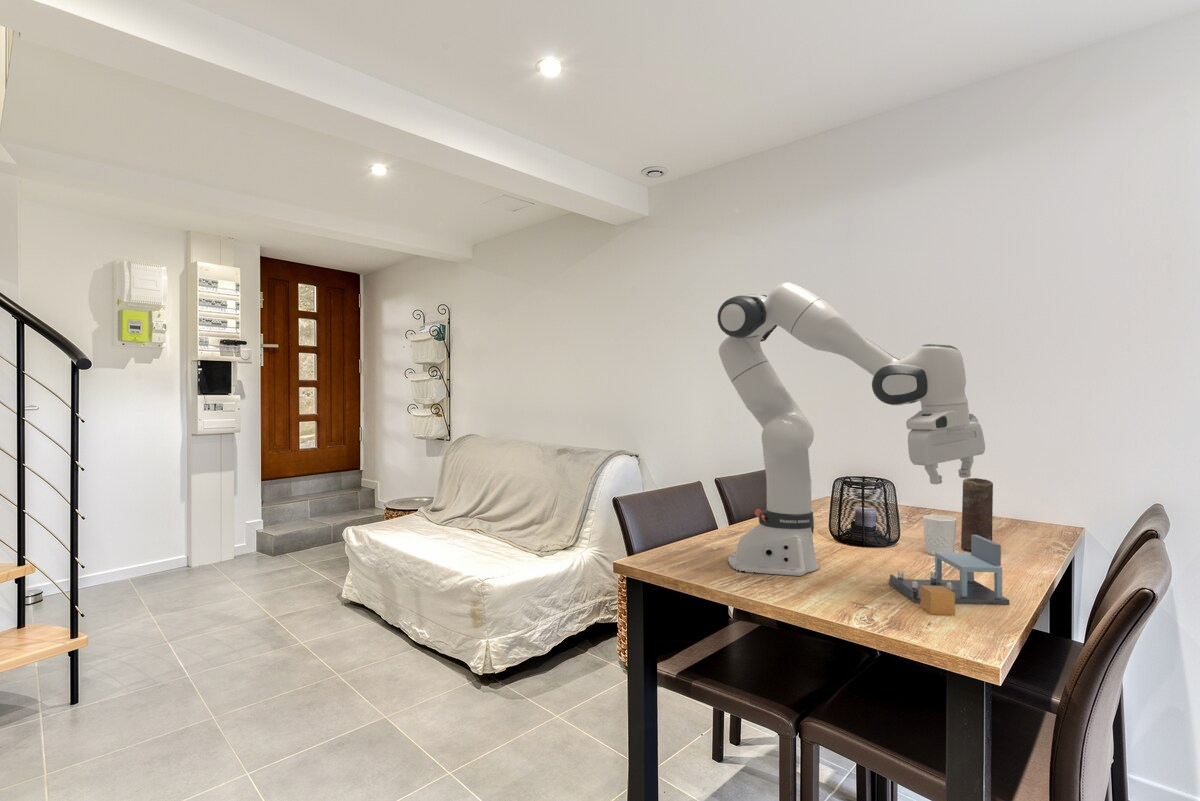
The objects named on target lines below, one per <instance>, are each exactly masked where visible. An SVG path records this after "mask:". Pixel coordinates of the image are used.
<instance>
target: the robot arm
mask: <svg viewBox="0 0 1200 801" xmlns="http://www.w3.org/2000/svg"><path fill="white" fill-rule="evenodd" d="M717 323H718V326H719V329H721V331H722V332H723V333H724V334H725V335H727V336H728V337H725V339H724V340H723V341H722V342H721V344H720V345H719V348H718V355H719V357H720V361H721V363H722V366H723V368H724V371H725V372H726V374H727V377H728V378H729V381H730V383H731V384H732V385H733V387H734V389H735V391H736V392H737V394H738V396H739V398H740V399H741V401H742V402H743V404H744V406H745V408H746V409H747V410H748V411H749V412H750V413H751V414H752V415H753V417H754V418H755V419H756V421H757V422H758V423H759V425H760V427H762V428H763V429H762V431H761V444H762V453H763V454H762V455H763V461H764V463H763V464H764V469H765V470H764V471H765V477H766V508H765V509H764V510H761V509H760V508H757V509H755V510H754V515H755V516H756V517H757V518H758V524H757V525H756V526H754V527H752V528H751V529H750V530H748V531H747V532H746V533H744V534H743V535H742V536H741V537H740V538H739V540H738V542H737V547H736V553H731V554H730V555H728V559H727V562H729V563H728V564H730V565H731V566H732V567H733V568H732V567H731V566H730V565H729V566H730V567H731V568H732V569H734V568H735V569H736V570H735V569H734V570H735V571H738V570H739V572H741V571H745V572H744V573H754V572H755V573H757V574H768V575H769V574H771V575H783V576H796V577H797V576H804V575H805V574H807V573H811V572H815V571H817V570H818V569H819V568H820V566H819V563H818V560H817V556H816V551H815V546H814V537H813V536H814V529H815V517H814V516H815V515H814V512H813V511H812V508H813V507H812V476H811V470H810V469H811V467H810V460H809V458H810V455H809V449H810V447H811V445H812V444H813V442H814V437H815V433H814V432H815V430H814V429H813V425H812V424H811V423H810V421H809V419H808V418H807V416H806V415H805V413H804V412H803V410H802V409H801V408H800V406H799V405H798V403H797V401H795V398H794V397H792V395H791V393H790V392H789V391H788V390H787V389H786V387H785V385H784V384H783V382H782V381H781V379H780V377H779V376H778V374H777V373H776V371H775V369H774V368H773V365H772V364H771V362H770V361H769V360H768V358H767V356H766V355H765V353H764V352H763V349H762V347H761V342H765V341H767V339H768V338H769V336H770V335H771V334H772V333H773V331H775V329H776V328H777V327H779V328H782V329H783V330H785V331H786V332H787V333H788V334H790V335H791V336H792V337H793V338H795V339H796V340H798V341H800V342H801V343H802V344H804V345H806V346H808V347H810V348H812V349H815V350H817V351H822V352H826V353H832V354H836V355H839V356H841V357H844V358H846V359H847V360H850V361H852V362H853V363H854V364H856V365H857V366H859V367H860V368H861V369H862V370H865V371H866V372H867V373H869V374H870V375H871V376H873V377H872V380H871V381H872V382H871V388H872V392H873V394H874V396H875V397H876V398H877V399H878V400H879V401H880V402H881V403H883V404H886V405H889V406H902V405H907V404H908V405H909V404H914V403H917V402H920V407H921V410H919V411H918V412H917V413H915V414H914V415H913V416H910V417H909V418H908V419H906V423H905V424H906V428H907V430H910V431H909V432H908V435H907V447H908V456H909V460H910V462H911V463H912V464H913V465H914V466H924V470H925V471H926V473H927V475H928V476H929V482H930V484H931V485H939V484H942V483H943V480H942V479H943V477H942V476H943V475H941V474H940V475H939V472H938V470H937V469H938V468H939V464H941V463H945V462H951V461H956V460H959V461H960V462H961V466H960V469H958V477H959V478H962V479H963V478H964V479H967V478H972V477H971V475H972V473H971V471H972V470H971V469H972V467H973V464H974V461H975V460H974V457H975V456H981V455H983V454H984V453H985V450H986V442H985V438H984V437H985V436H984V432H983V428H982V426H981V424H980V423H979V419H978V417H976V416H975V415H974V414H973V413H970V410H969V401H968V397H967V396H966V391H965V390H966V389H965V388H966V385H967V378H966V368H965V363H964V359H963V355H962V353H961V351H960V350H959V349H958V348H957V347H955V346H953V345H949V344H947V345H946V344H931V343H930V344H929V343H927V344H926V343H925V344H922V345H920V346H919V347H918V348H917V349H916V350H914V351H913V352H911V353H910V354H908V355H907V356H904V357H902V358H901V359H900V358H897V357H895V356H893V355H892V354H890V353H889V352H887V351H886V350H884V349H882V348H881V347H880V346H878V345H877V344H876V343H874V342H872V341H871V340H869V339H868V338H866V337H865V336H864V335H862V334H861V333H860V332H859V331H858V330H857V329H856V328H855V327H854V326H853V325H852V324H851V323H850V322H848V320H847V319H846V318H844V316H843V315H841V314H840V312H838V311H837V310H836V309H835V308H834V307H833V306H832V305H831V304H829V303H828V302H827V301H826V300H824V299H823V298H821V297H819V296H818V295H817V294H815V293H813V291H810V290H808V289H807V288H805V287H802V286H800V285H798V284H796V283H793V282H788V281H787V282H786V281H785V282H782V283H779V284H778V285H776V286H775V287H774V288H773V289H772V290H771V291H770V292H769V294H768V295H766V294H757V293H756V294H754V293H752V294H751V293H749V294H746V295H735V296H733V297H730V298H728V299H726V300H725V301H724V302H723V303H722V304H721V306H720V307H719V309H718V312H717Z"/></svg>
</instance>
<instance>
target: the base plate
mask: <svg viewBox="0 0 1200 801" xmlns="http://www.w3.org/2000/svg"><path fill="white" fill-rule="evenodd" d="M929 576H930V579H917V578H916V579H915V578H914V579H913V578H912V579H910V578H907V579H904V572H903V571H901V570H898V571H897V576H895V575H894V574H889V579H888V584H889V583H890V584H889V585H891V586H892V587H893V586H894V587H895V588H894V587H893V588H894V589H895V590H897V591H898V590H899V591H898V592H899V593H901V594H902V593H903V594H902V595H904V596H905V597H906V596H907V597H906V598H908V599H909V600H910V601H911V602H913V603H914V604H921V585H924V586H944V587H946V588H947V589H949V590H951V591H952V592H954V593H955V605H959V604H961V605H962V604H963V605H1000V606H1001V605H1005V606H1006V605H1008V606H1009V605H1010V599H1009V598H1007V597H1005V596H1004V595H1002V597H996V596H994V590H992V589H991V588H989V587H987V586H985V585H983V584H981V583H980V582H978V581H977V580H974V581H968V580H967V596H961V595H960V579H942V581H937V573H936V572H935V571H930V574H929Z"/></svg>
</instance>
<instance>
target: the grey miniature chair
mask: <svg viewBox="0 0 1200 801" xmlns="http://www.w3.org/2000/svg"><path fill="white" fill-rule="evenodd" d="M1001 547H1002V544H1000V543H998V542H995V541H993V540H992V541H991V540H988V539H986V538H983V537H981V536H979V535H971V550H970V551H971V552H954V553H935V555H934V572H936V573H937V581H942V580H943V562H944V563H945V564H948V565H949V566H951V567H953V568H955V569H957V570H958V571H959V580H960V595H961V596H967V580H968V581H975V573H994V577H993V579H994V580H993V582H994V583H993V584H994V585H993V586H994V590H993V591H994V596H996V597H1002V596H1003V567H1002V559H1001V558H1002V553H1001V552H1002V548H1001Z"/></svg>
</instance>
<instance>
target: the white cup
mask: <svg viewBox="0 0 1200 801" xmlns="http://www.w3.org/2000/svg"><path fill="white" fill-rule="evenodd" d="M922 518H923V520H922V521H923V534H924V542H925V553H926V554H928V555H930V554H931V555H932V556H935V553H955V545H956V534H957V533H956V532H957V531H956V530H957V518H955V517H954V516H949V515H948V516H947V515H940V514H939V515H938V514H925V515H923V517H922ZM931 555H930V556H931Z"/></svg>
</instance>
